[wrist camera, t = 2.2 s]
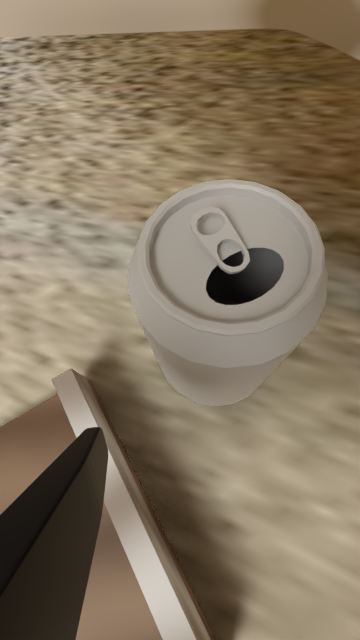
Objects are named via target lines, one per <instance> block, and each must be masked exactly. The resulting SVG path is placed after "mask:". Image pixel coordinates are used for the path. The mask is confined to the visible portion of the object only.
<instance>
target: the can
mask: <svg viewBox="0 0 360 640" xmlns="http://www.w3.org/2000/svg"><path fill="white" fill-rule="evenodd" d="M324 261H325V248H324V245H323V242H322V239H321V236H320V233H319V230H318V227H317V225H316V224H315V223H314V222H313V220H312V219H311V218H310V217H309V215H308V214H307V213H306V212H305V210H304V209H303V208H302V206H300V205H299V204H297V203H296V202H295V201H293V200H292V199H290V198H289V197H287V196H286V195H285V194H283V193H282V192H280V191H278V190H275V189H272V188H270V187H267V186H264V185H261V184H259V183H256V182H250V181H241V180H233V179H226V180H217V181H208V182H202V183H199V184H197V185H194V186H191V187H189V188H186V189H183V190H180V191H178V192H177V193H176V194H174V195H173V196H171V197H170V198H168V199H167V200H166V201H164V202H163V203H161V204H160V205H159V206H158V207H157V208H156V210H155V211H154V212H153V213H152V215H151V216H150V217H149V219H148V220H147V221H146V222H145V224H144V227H143V229H142V232H141V235H140V238H139V241H138V243H137V244H136V247H135V250H134V252H133V255H132V258H131V261H130V264H129V267H128V289H129V297H130V300H131V302H132V305H133V307H134V310H135V312H136V315H137V317H138V319H139V322H140V324H141V326H142V328H143V330H144V333H145V335H146V337H147V339H148V341H149V343H150V346H151V348H152V350H153V352H154V354H155V356H156V358H157V361H158V363H159V365H160V367H161V369H162V371H163V373H164V376H165V378H166V379H167V381H168V382H169V383H170V384H171V385H172V386H173V387H174V389H175V390H176V391H177V392H178V393H179V394H181V395H183V396H184V397H186V398H188V399H190V400H191V401H193V402H195V403H200V404H204V405H209V406H222V405H232V404H234V403H236V402H239V401H241V400H243V399H245V398H247V397H249V396H250V395H251V394H252V393H253V392H254V391H255V390H257V389H258V388H259V387H260V386H261V385H262V384H263V383H264V382H265V380H266V379H267V378H268V377H269V376H270V375H271V374H272V373H273V372H274V371H275V370H276V369H277V368H278V367H279V366H280V364H281V363H282V362H283V361H284V360H285V359H286V358H287V357H288V356H289V355H290V354H291V353H292V352H293V351H294V349H295V348H296V347H297V346H298V345H299V344H300V343H301V342H302V341H303V340H304V339H305V338H306V337H307V336H308V335H309V333H310V332H311V331H312V330H313V329H314V328H315V326H316V323H317V321H318V319H319V317H320V315H321V313H322V310H323V308H324V306H325V304H326V302H327V282H328V272H327V269H326V266H325V263H324Z"/></svg>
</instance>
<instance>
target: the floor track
mask: <svg viewBox="0 0 360 640" xmlns="http://www.w3.org/2000/svg"><path fill="white" fill-rule="evenodd" d="M52 382H53V384H54V386H55V389H56V391H57V393H58V395H56V396H54V397H52V398H51V399H49V400H47V401H45V402H44V403H42V404H40V405H39V406H37V407H35V408H33V409H32V410H30V411H28V412H27V413H25V414H23V415H21V416H20V417H18V418H16V419H14V420H13V421H11V422H9V423H8V424H6V425H4V426H2V427H1V428H0V514H1V513H2V512H3V511H4V510H5V509H6V508H7V507H8V506H9V505H10V504H11V503H12V502H13V501H14V500H15V499H16V498H17V497H18V496H19V495H20V494H21V493H22V492H23V491H24V490H25V489H26V488H27V487H28V486H29V485H30V484H31V483H32V482H33V481H34V480H35V479H36V478H37V477H38V476H39V475H40V474H41V473H42V472H43V471H44V470H45V469H46V468H47V467H48V466H49V465H50V464H51V463H52V462H53V461H54V460H55V459H56V458H57V457H58V456H59V455H60V454H61V453H62V452H63V451H64V450H65V449H66V448H67V447H68V446H69V445H70V444H71V443H72V442H73V441H74V440H75V439H76V438H77V437H78V436H79V435H80V434H81V433H82V432H83V431H84V430H85V429H87V428H92V427H101V428H102V430H103V433H104V437H105V440H106V444H107V448H108V464H107V474H106V483H105V493H104V503H103V511H102V517H101V522H100V527H99V532H98V537H97V541H96V546H95V551H94V555H93V560H92V565H91V570H90V574H89V579H88V584H87V588H86V593H85V598H84V602H83V607H82V612H81V617H80V621H79V626H78V631H77V635H76V640H216V639H215V637H214V635H213V633H212V631H211V629H210V627H209V625H208V623H207V621H206V619H205V617H204V615H203V613H202V610H201V608H200V606H199V604H198V602H197V600H196V598H195V596H194V594H193V592H192V590H191V588H190V586H189V584H188V581H187V579H186V577H185V575H184V573H183V571H182V569H181V567H180V565H179V563H178V561H177V559H176V557H175V554H174V552H173V550H172V548H171V546H170V544H169V542H168V540H167V538H166V536H165V534H164V532H163V530H162V528H161V525H160V523H159V521H158V519H157V517H156V515H155V513H154V511H153V509H152V507H151V505H150V503H149V501H148V499H147V496H146V494H145V492H144V490H143V488H142V486H141V484H140V482H139V480H138V478H137V476H136V474H135V472H134V470H133V467H132V465H131V463H130V461H129V459H128V457H127V455H126V453H125V451H124V449H123V447H122V445H121V443H120V441H119V438H118V436H117V434H116V432H115V430H114V428H113V426H112V424H111V422H110V420H109V418H108V416H107V414H106V412H105V409H104V407H103V405H102V403H101V401H100V399H99V397H98V395H97V393H96V391H95V389H94V387H93V385H92V382H91V381H90V380H88V379H87V378H85V377H83V376H82V375H80V374H79V373H77V372H76V371H74V370H73V369H69V370H67V371H65V372H64V373H62V374H60V375H58V376H57V377H55V378H53V379H52Z"/></svg>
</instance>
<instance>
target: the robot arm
mask: <svg viewBox="0 0 360 640" xmlns="http://www.w3.org/2000/svg"><path fill="white" fill-rule="evenodd" d="M107 464H108V448H107V444H106V440H105V437H104V433H103V430H102V428H101V427H92V428H87V429H85V430H84V431H83V432H82V433H81V434H80V435H79V436H78V437H77V438H76V439H75V440H74V441H73V442H72V443H71V444H70V445H69V446H68V447H67V448H66V449H65V450H64V451H63V452H62V453H61V454H60V455H59V456H58V457H57V458H56V459H55V460H54V461H53V462H52V463H51V464H50V465H49V466H48V467H47V468H46V469H45V470H44V471H43V472H42V473H41V474H40V475H39V476H38V477H37V478H36V479H35V480H34V481H33V482H32V483H31V484H30V485H29V486H28V487H27V488H26V489H25V490H24V491H23V492H22V493H21V494H20V495H19V496H18V497H17V498H16V499H15V500H14V501H13V502H12V503H11V504H10V505H9V506H8V507H7V508H6V509H5V510H4V511H3V512H2V513H1V514H0V640H76V635H77V631H78V626H79V621H80V617H81V612H82V607H83V602H84V598H85V593H86V588H87V584H88V579H89V574H90V570H91V565H92V560H93V555H94V551H95V546H96V541H97V537H98V532H99V527H100V522H101V517H102V511H103V503H104V493H105V483H106V474H107Z"/></svg>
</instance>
